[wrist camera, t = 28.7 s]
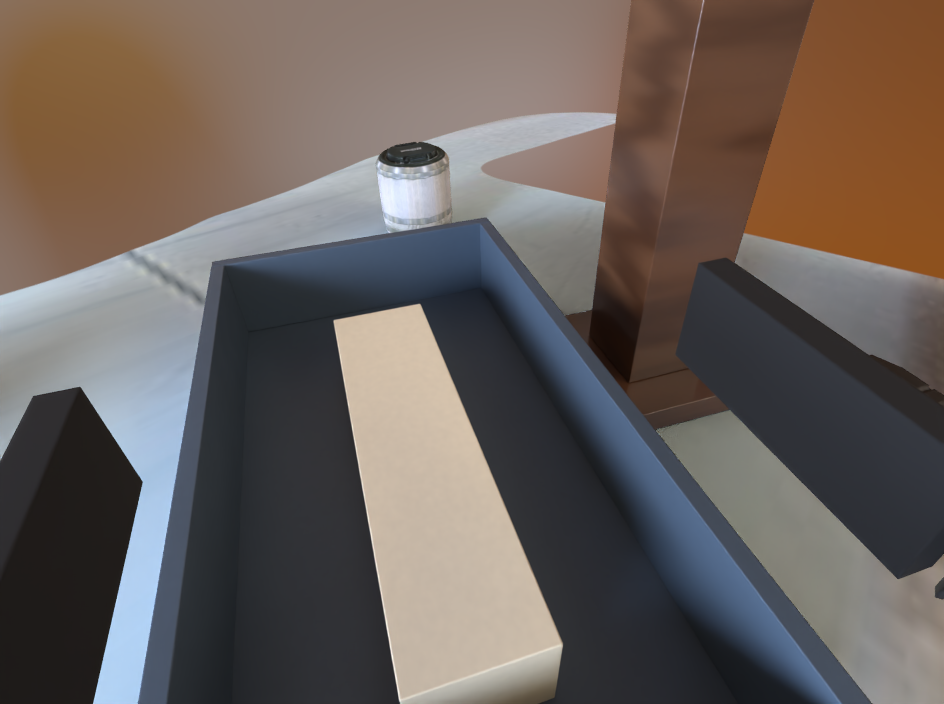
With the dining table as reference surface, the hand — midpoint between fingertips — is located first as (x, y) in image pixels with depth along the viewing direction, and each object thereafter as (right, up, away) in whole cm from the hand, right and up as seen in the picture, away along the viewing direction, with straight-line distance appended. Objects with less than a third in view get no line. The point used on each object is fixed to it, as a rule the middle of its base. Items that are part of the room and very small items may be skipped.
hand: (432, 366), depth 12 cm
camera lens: (-4, +11, +38) cm, 40 cm away
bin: (-2, -7, +15) cm, 16 cm away
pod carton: (-1, -6, +13) cm, 14 cm away
